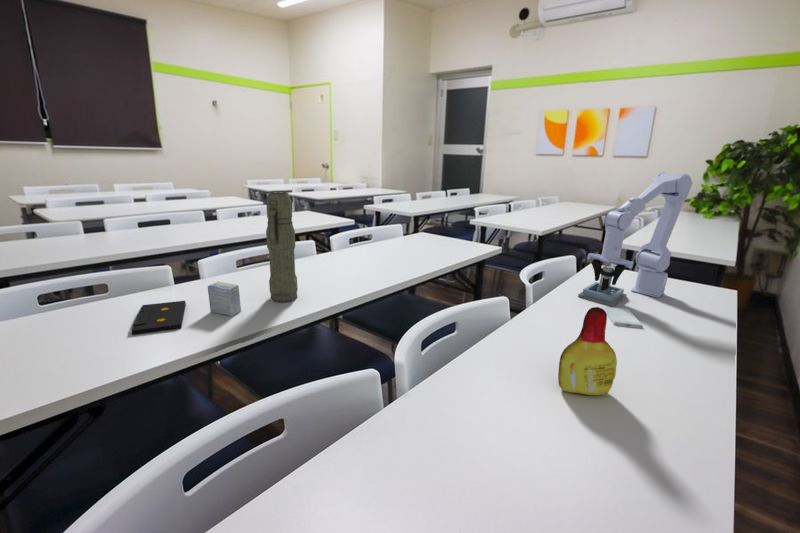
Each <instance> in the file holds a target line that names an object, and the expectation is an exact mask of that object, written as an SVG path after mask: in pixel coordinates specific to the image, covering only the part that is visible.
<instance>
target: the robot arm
mask: <svg viewBox="0 0 800 533" xmlns="http://www.w3.org/2000/svg"><path fill="white" fill-rule="evenodd" d="M692 186H693V180H692V177H691V176H690V175H689V174H686V173H685V174H682V173H671V172H669V173H668V172H664V171H662V172H659V173H658V174H656V176H654V177H653V180H652V183H651V184H650V185H649V186H648V187H647V188H646V189H645V190H644V191H643V192H642V193H640V195H638V196H636V197H635V196H633V197H630V198H629V199H628V200H627V201H626V202H625V203H623V204H622V205H621V206H619V207H618V208H617V209H616V210H611V211H609V212H608V213H607V214H605V215H606V216H605V218H603V221H604V225H605V228H604V230H605V236H604V241H603V246H602V251H601V254H599V253H592V252H590V253H588V254H587V257H586V258H587V260H592V261H591V266H592V268H593V273H594V282H597V281H600V278H601V274H600V268H603V264H604V263H608V264H611V265H615V266H614V267H613V268H614V277H612V280H611V286H615V285H616V284H617V281H618V280H619V278H620V276H621V275H622V273H623V272H624V271H625V270H626V268H628V269H632V268H633V266H634V261H630V260H628V259H624V258H621V254H622V253H621V251H622V248H623V243H624V238H625V233H626V230H627V229H629V228H630V226H631V224H632V222H633V221H634V219H635V218H636V217H637V216H638V215H640V214H641V213H643V211H645V209H646V205H647V204H648V203H650V202H651V201H653V200H654V199H655V198H656V197H658V196H660V195H661V196H662V197H663V198H664V200H665V203H664V206H663V207H662V210H661V213H660V215H659V218H658V221H657V223H656V226H655V228H654V231H653V233H652V236H651V239H650V241H649V242H648V243H645V244H643V245H641V248H640V250H639V251H638V252H637V254H636V256H635V263H636V264H637V268H638V270H637V271H638V272H637V276H636V280H635V284H634V287H633V288H631V289H630V292H634V293H638V294H642V295H645V296H648V297H649V296H650V297H654V298H657V299H658V298H660V297H661V296H662V295H664V293H665V289H666V285H667V281H668V277H669V276H668V275H669V273H667V272H665V271H666V270H667V269H668V268H669V266H670V264H671V261H670V260H671V255H672V253H671V251H670V250H669V248H668V247H667V245H668V242H669V240H670V238H671V236H672V233H673V229H674V227H675V225H676V222H677V220H678V218H679V216H680V213H681V210H682V208H683V206H684V202H685V200H687V198H688V196H689V193H690V191H691V188H692Z"/></svg>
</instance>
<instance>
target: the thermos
mask: <svg viewBox="0 0 800 533" xmlns="http://www.w3.org/2000/svg"><path fill="white" fill-rule="evenodd" d="M292 202H293V201H292V199H291V196H290V193H288V192H287V191H282V190H278V191H277V190H275V191H270V192H268V193H267V197H266V204H265V205H266V217H267V227H266V230H265V233H266V234H265V236H266V247H267V250H268V257H269V273H270V277H269V280H268V283H269V284H268V285H269V293H270V300H271V301H272V302H275V303H290V302H293V301H296V300H297V299H298V277H297V274H296V260H295V248H296V232H295V231H296V230H295V227H294V224H293V219H292V217H293V209H292V208H293V207H292V206H293V205H292Z"/></svg>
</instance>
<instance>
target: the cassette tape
mask: <svg viewBox="0 0 800 533" xmlns="http://www.w3.org/2000/svg"><path fill="white" fill-rule="evenodd" d="M186 306H187V303H186V300H179V301H168V302H160V303H150V304H143V305H141V307H140V308H139V311H138V313H137V315H136V318H135V319H134V322H133V324H132V327H131V335H132V336H135V335H143V334H151V333H152V334H153V333H157V332H159V333H160V332H165V331H174V330H181V329H182V327H183V321H184V316H185V310H186Z"/></svg>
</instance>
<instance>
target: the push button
mask: <svg viewBox="0 0 800 533" xmlns="http://www.w3.org/2000/svg"><path fill="white" fill-rule="evenodd" d="M614 268H615V267H612V266H609V265H602V267H601V268H600V278H599V282H598V283H599V284H598V285H596V289H595V292H599V293H603V294H606V295H610V294H611V293H614V292H611V291H613V290H612V289H611V286H612V281H613V277H614ZM614 291H615V290H614Z"/></svg>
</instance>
